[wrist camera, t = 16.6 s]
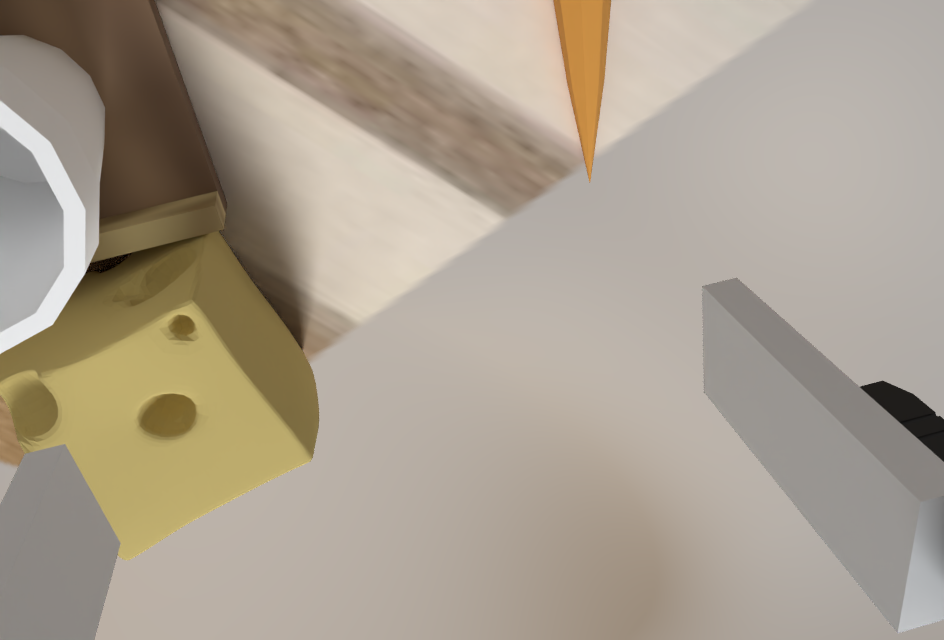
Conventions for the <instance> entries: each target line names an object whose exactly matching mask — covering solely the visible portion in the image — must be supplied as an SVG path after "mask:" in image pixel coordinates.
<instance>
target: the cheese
mask: <svg viewBox="0 0 944 640" xmlns="http://www.w3.org/2000/svg"><path fill="white" fill-rule="evenodd" d="M0 395H1V397H2V398H3V399H4V401H5V402H6V404H7V406H8V408H9V410H10V413H11V416H12V419H13V423H14V427H15V431H16V435H17V439H18V442H19V444H20V445H21V447H22V449H23V451H24V453H25V454H26V453H30V452H34V451H38V450H42V449H46V448H50V447H54V446H58V445H63V444H65V445H66V447H67V448H68V450H69V452H70V454H71V455H72V457H73V459H74V461H75V463H76V464H77V466H78V468H79V470H80V472H81V473H82V475H83V477H84V479H85V480H86V482H87V484H88V486H89V488H90V489H91V491H92V493H93V495H94V497H95V498H96V500H97V502H98V504H99V506H100V507H101V509H102V511H103V513H104V514H105V516H106V518H107V520H108V522H109V523H110V525H111V527H112V529H113V531H114V532H115V534H116V536H117V538H118V539H119V541H120V543H121V544H120V548H119V551H118V556H119V557H120V558H122V559H124V560H130V559H132V558H134V557H136V556H137V555H139V554H140V553H142V552H144V551H145V550H147V549H149V548H150V547H151V546H153V545H155V544H156V543H158V542H159V541H161V540H162V539H164V538H166V537H167V536H169V535H170V534H172V533H173V532H175V531H177V530H178V529H180V528H182V527H183V526H185V525H186V524H188V523H190V522H192V521H193V520H195V519H197V518H199V517H201V516H203V515H205V514H206V513H208V512H210V511H212V510H214V509H216V508H218V507H220V506H222V505H224V504H226V503H228V502H229V501H231V500H233V499H235V498H237V497H239V496H241V495H243V494H244V493H246V492H249V491H250V490H252V489H254V488H256V487H258V486H260V485H262V484H264V483H266V482H268V481H270V480H272V479H274V478H276V477H278V476H280V475H282V474H284V473H286V472H288V471H290V470H293V469H295V468H297V467H300V466H302V465H304V464H306V463H308V462H310V461H311V460H312V458H313V454H314V448H315V443H316V438H317V433H318V427H319V406H318V397H317V389H316V383H315V379H314V375H313V371H312V369H311V366H310V364H309V362H308V361H307V359H306V357H305V355H304V353H303V351H302V349H301V348H300V346H299V345H298V343H297V342H296V340H295V339H294V337H293V336H292V334H291V333H290V331H289V330H288V328H287V327H286V325H285V324H284V323H283V321H282V320H281V319H280V317H279V316H278V315H277V313H276V312H275V311H274V309H273V308H272V307H271V305H270V304H269V303H268V301H267V300H266V299H265V298H264V296H263V295H262V294H261V292H260V291H259V290H258V288H257V287H256V286H255V284H254V283H253V282H252V280H251V279H250V277H249V276H248V274H247V273H246V271H245V270H244V269H243V267H242V266H241V264H240V263H239V261H238V260H237V258H236V257H235V255H234V254H233V252H232V251H231V249H230V247H229V246H228V244H227V243H226V241H225V240H224V238H223V237H222V235H221V234H220V232H219V231H216V232H212V233H208V234H204V235H200V236H196V237H192V238H188V239H184V240H180V241H176V242H172V243H168V244H164V245H160V246H156V247H152V248H148V249H144V250H140V251H136V252H133V253H132V254H131V255H130V256H129V257H127V258H126V259H125V260H124V261H123V262H121V263H120V264H119V265H117V266H115V267H114V268H112V269H110V270H108V271H105V272H103V273H99V272H98V271H91V272H89V273H86V274H84V276H83V278H82V279H81V281H80V282H79V284H78V286H77V287H76V289H75V290H74V292H73V293H72V295H71V297H70V298H69V300H68V301H67V303H66V305H65V306H64V308H63V309H62V311H61V312H60V314H59V316H58V317H57V319H56V320H55V322H54V324H53V325H52V326H50V327H48V328H46V329H44V330H43V331H41V332H39V333H37V334H35V335H33V336H32V337H30V338H28V339H26V340H24V341H23V342H21V343H19V344H17V345H15V346H14V347H12V348H10V349H8V350H6V351H4V352H3V353H1V354H0Z"/></svg>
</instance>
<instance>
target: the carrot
mask: <svg viewBox="0 0 944 640" xmlns="http://www.w3.org/2000/svg"><path fill="white" fill-rule="evenodd" d="M554 6H555V12H556V18H557V24H558V30H559V36H560V42H561V48H562V53H563V59H564V65H565V71H566V77H567V83H568V88H569V92H570V97H571V101H572V106H573V110H574V115H575V119H576V124H577V128H578V133H579V137H580V142H581V146H582V151H583V155H584V159H585V164H586V168H587V173H588V177H589V181H590V179H591V172H592V165H593V157H594V150H595V143H596V136H597V128H598V121H599V114H600V107H601V99H602V92H603V85H604V77H605V65H606V53H607V42H608V30H609V19H610V7H611V0H554Z"/></svg>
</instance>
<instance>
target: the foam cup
mask: <svg viewBox="0 0 944 640" xmlns="http://www.w3.org/2000/svg"><path fill="white" fill-rule="evenodd" d="M104 139H105V106H104V104H103V102H102V100H101V98H100V96H99V94H98V91H97V89H96V87H95V85H94V83H93V81H92V79H91V77H90V75H89V74H88V73H87V72H86V71H84V70H83V69H82V68H81V67H80V66H79V65H78V64H77V63H76V62H75V61H73V60H72V59H71V58H70V57H69V56H68V55H67V54H66V53H65V52H64V51H62V50H61V49H59V48H57V47H54V46H51V45H49V44H46V43H44V42H41V41H38V40H36V39H33V38H31V37H28V36H26V35H0V354H1V353H3V352H4V351H6V350H8V349H10V348H12V347H14V346H15V345H17V344H19V343H21V342H23V341H24V340H26V339H28V338H30V337H32V336H33V335H35V334H37V333H39V332H41V331H43V330H44V329H46V328H48V327H50V326H52V325H53V324H54V322H55V320H56V319H57V317H58V316H59V314H60V312H61V311H62V309H63V308H64V306H65V305H66V303H67V301H68V300H69V298H70V297H71V295H72V293H73V292H74V290H75V289H76V287H77V286H78V284H79V282H80V281H81V279H82V278H83V276H84V274H85V273H86V270H87V268H88V266H89V264H90V262H91V260H92V258H93V255H94V253H95V251H96V249H97V247H98V245H99V197H100V176H101V168H102V160H103V151H104Z"/></svg>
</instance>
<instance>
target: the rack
mask: <svg viewBox="0 0 944 640" xmlns="http://www.w3.org/2000/svg"><path fill="white" fill-rule="evenodd" d="M0 35H26V36H28V37H31V38H33V39H36V40H38V41H41V42H44V43H46V44H49V45H51V46H54V47H57V48H59V49H61V50H62V51H64V52H65V53H66V54H67V55H68V56H69V57H70V58H71V59H72V60H73V61H75V62H76V63H77V64H78V65H79V66H80V67H81V68H82V69H83V70H84V71H86V72H87V73H88V74H89V75H90V77H91V79H92V81H93V83H94V85H95V87H96V89H97V91H98V94H99V96H100V98H101V100H102V102H103V104H104V106H105V139H104V151H103V160H102V168H101V176H100V197H99V245H98V247H97V249H96V251H95V253H94V255H93V258H92V260H91V262H95V261H99V260H104V259H108V258H112V257H116V256H120V255H124V254H128V253H132V252H136V251H140V250H144V249H148V248H152V247H156V246H160V245H164V244H168V243H172V242H176V241H180V240H184V239H188V238H192V237H196V236H200V235H204V234H208V233H212V232H216V231H220V230H224V225H225V216H226V208H227V202H226V199H225V196H224V193H223V191H222V188H221V185H220V182H219V180H218V177H217V174H216V171H215V168H214V166H213V163H212V160H211V157H210V154H209V152H208V149H207V146H206V143H205V140H204V138H203V135H202V132H201V129H200V127H199V124H198V121H197V118H196V115H195V113H194V110H193V107H192V104H191V101H190V99H189V96H188V93H187V90H186V87H185V85H184V82H183V79H182V76H181V74H180V71H179V68H178V65H177V62H176V60H175V57H174V54H173V51H172V48H171V46H170V43H169V40H168V37H167V34H166V32H165V29H164V26H163V23H162V21H161V18H160V15H159V12H158V9H157V7H156V4H155V1H154V0H0ZM91 262H90V263H91Z"/></svg>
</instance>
